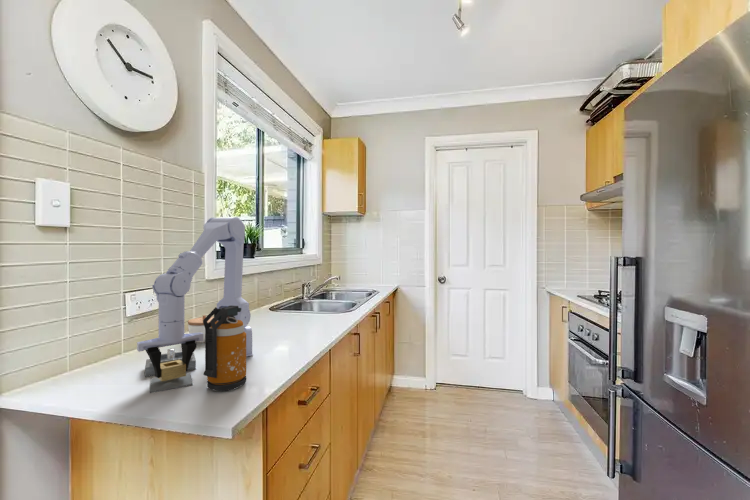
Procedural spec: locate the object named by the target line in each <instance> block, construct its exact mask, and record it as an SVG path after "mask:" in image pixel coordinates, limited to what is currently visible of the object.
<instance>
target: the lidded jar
mask: <svg viewBox="0 0 750 500" xmlns="http://www.w3.org/2000/svg"><path fill="white" fill-rule="evenodd" d="M206 317H207V315H206V314H203V315H202V317H201V316H200V317H196V318H191V319H189V320H188V321H187V326H188V328H187V329H188V334H190V333H199V332H201V333H203V341H195V343H198V344H199V343H201V344H202V343H205V327H204V323H203V320H204V319H205V318H206ZM213 318H214V316H212V317H211V318H210V319H209V320H208V321H207V323H209V322H210V321H211V320H212V319H213Z"/></svg>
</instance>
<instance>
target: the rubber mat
mask: <svg viewBox="0 0 750 500" xmlns="http://www.w3.org/2000/svg"><path fill="white" fill-rule="evenodd" d="M193 383H194V382H193V378H192V373H191V372H186V376H183V377H179V378H175V379H170V380H166V381H161V380H160V379H159V378H157V377H155V378H151V379H150V388H149V393H150V394H151V393H152V394H153V393H156V392H157V393H158V392H161V391H167V390H173V389H179V388H180V389H181V388H184V387H185V388H186V387H190V386H193V385H194V384H193Z"/></svg>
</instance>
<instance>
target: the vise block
mask: <svg viewBox="0 0 750 500" xmlns="http://www.w3.org/2000/svg"><path fill="white" fill-rule="evenodd" d="M166 352H167V353H161V361H160V363H165V362H170V361H175V360H181V361H182V350H180V351H175V348H168V349H167V351H166ZM196 364H197V361H196V357H195V353H194V352H193V354H192V356H191V359H190V362H189V365H188V370H187V372H188V371H193V370H196V369H197V368H196V367H197V365H196ZM149 377H156V376H155V371H154V367H153V364H152V362H151V360H150V358H149V359H146V361H145V366H144V378H149Z"/></svg>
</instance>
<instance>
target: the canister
mask: <svg viewBox="0 0 750 500" xmlns="http://www.w3.org/2000/svg"><path fill="white" fill-rule="evenodd" d="M238 312H241V308H238V306H228V307H224V308H220V309H217V306H216V307H214V308H213V310H211V311H210V312H209V313H208V315H206V318H205V319H204V320H203V323H204V327H205V342H204V343H205V345H204V346H205V352H204V354H205V355H204V356H205V357H204V358H205V359H204V361H205V362H204V363H205V364H204V367H205V370H204V372H203V376H205V377H206V379H207V382H206V387H207V388H208V389H209V390H211V391H212V390H213V391H217V392H227V391H232V390H235V389H238V388H239V387H240V388H241V387H242V386H243V385H244V384H246V383H247V357H246V333H245V332H244V324H243V322H242V321H241V320H237V319H235V317H234V316H236V315H238ZM211 317H214V318H213V319H212V320H211V321H210V322H209V323H207V321H208V320H209V319H210V318H211ZM217 320H218V321H217Z"/></svg>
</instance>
